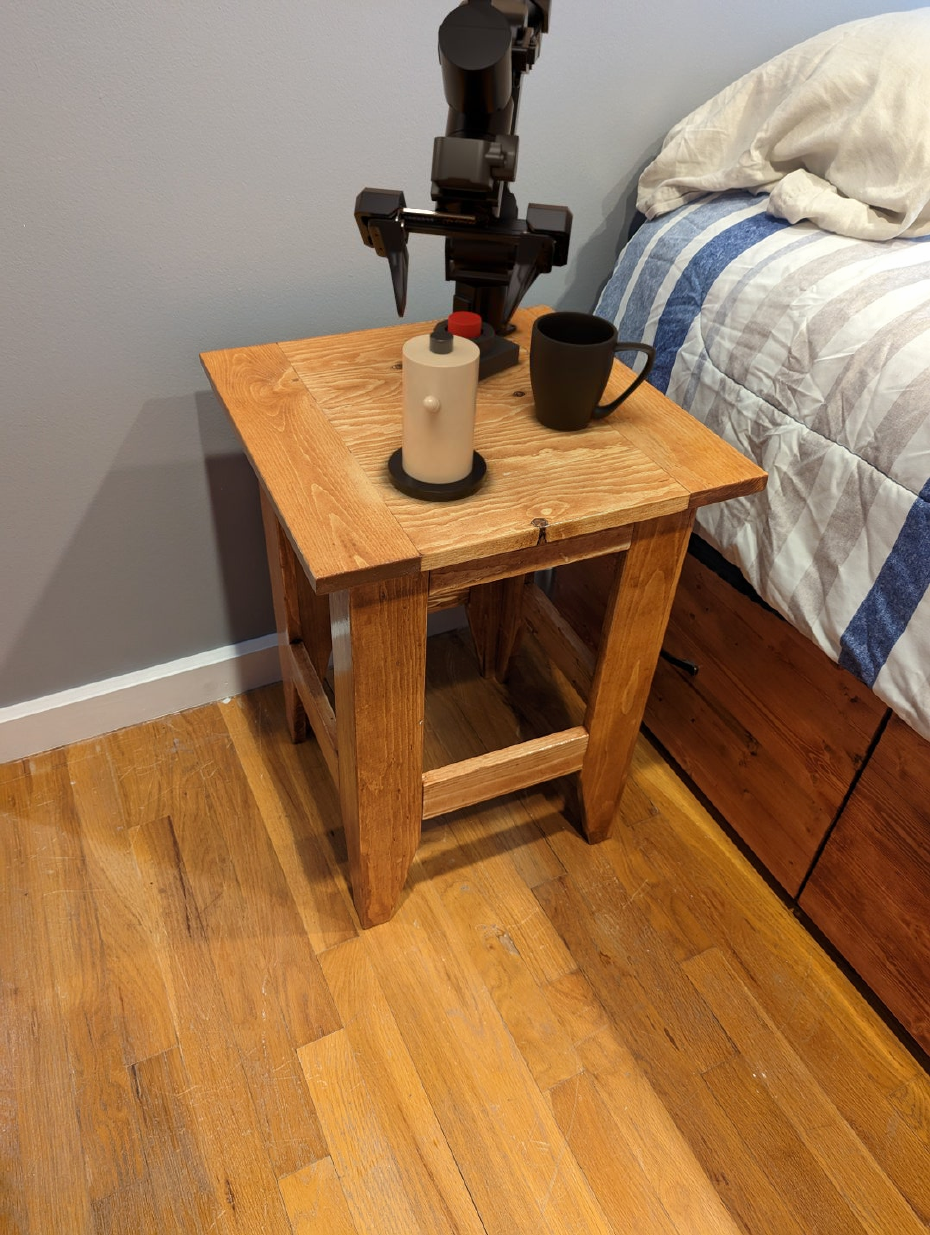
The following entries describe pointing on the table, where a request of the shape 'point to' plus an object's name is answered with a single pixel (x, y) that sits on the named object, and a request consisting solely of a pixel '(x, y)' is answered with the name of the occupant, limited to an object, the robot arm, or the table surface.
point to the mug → (576, 368)
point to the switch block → (490, 350)
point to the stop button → (464, 324)
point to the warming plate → (436, 491)
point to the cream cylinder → (439, 406)
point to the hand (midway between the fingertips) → (451, 320)
